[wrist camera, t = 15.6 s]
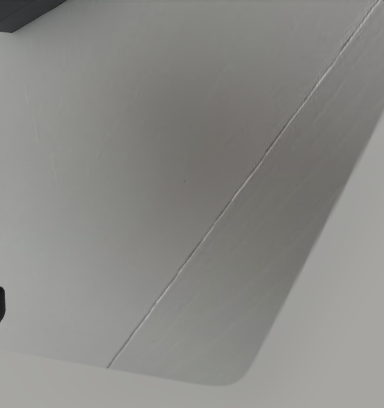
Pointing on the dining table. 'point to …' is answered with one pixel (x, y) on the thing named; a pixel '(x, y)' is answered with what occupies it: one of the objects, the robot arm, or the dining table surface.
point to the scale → (22, 12)
